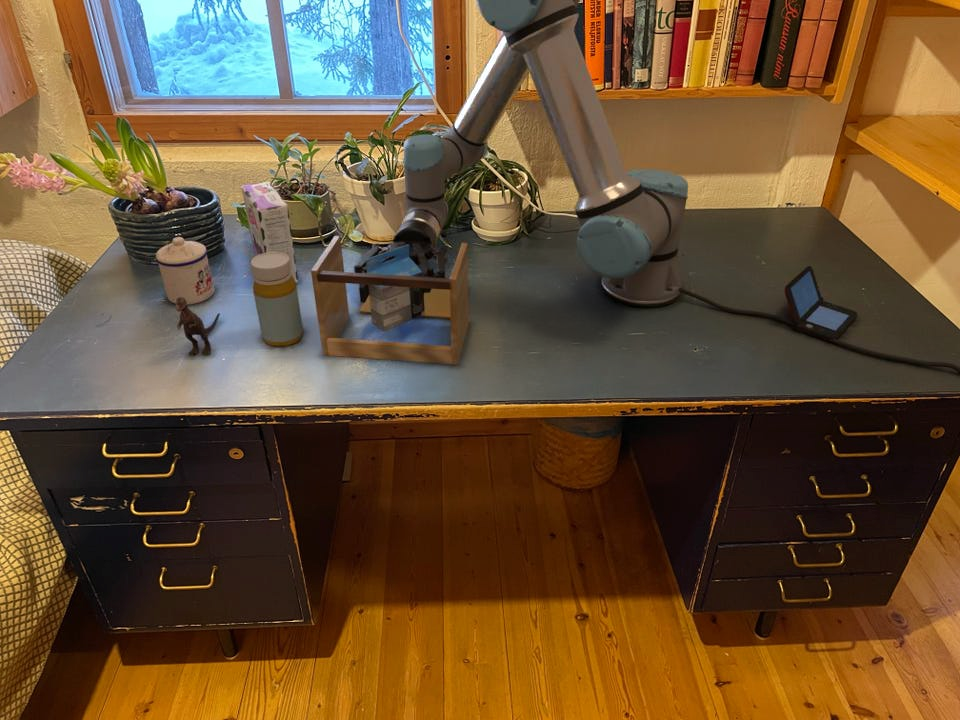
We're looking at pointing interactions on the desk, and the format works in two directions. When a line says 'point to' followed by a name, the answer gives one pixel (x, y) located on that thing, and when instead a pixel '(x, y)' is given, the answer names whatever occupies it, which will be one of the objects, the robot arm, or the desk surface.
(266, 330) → the bottle
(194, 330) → the dinosaur model
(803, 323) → the handheld console
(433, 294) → the felt pad
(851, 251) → the desk surface
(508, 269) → the desk surface
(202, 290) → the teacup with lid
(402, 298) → the label tape box
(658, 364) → the desk surface
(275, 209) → the candy box
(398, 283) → the frame
